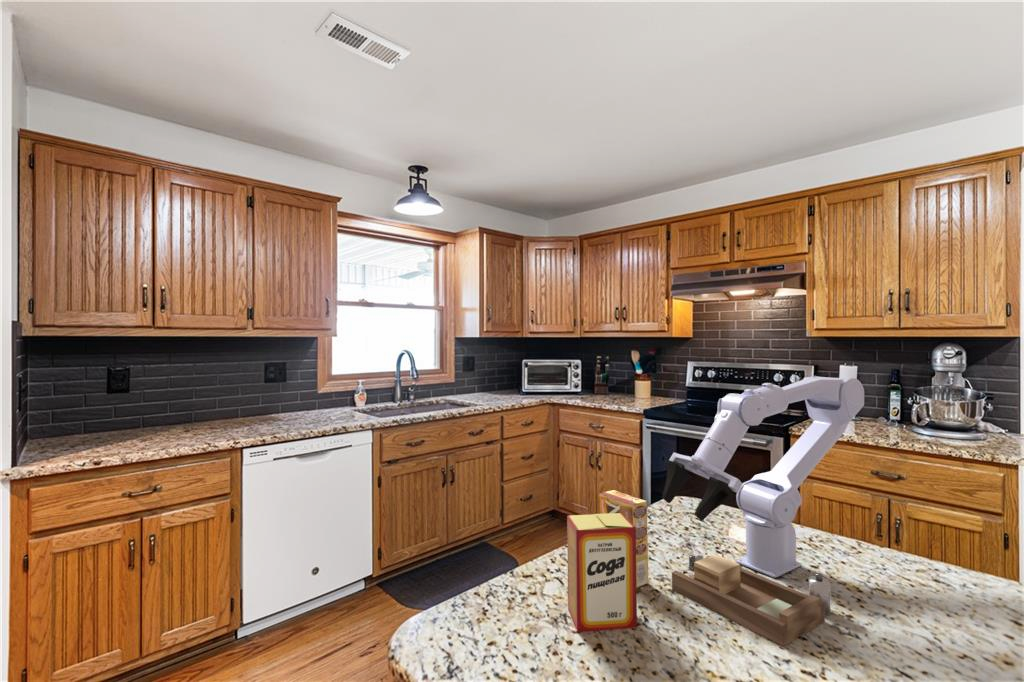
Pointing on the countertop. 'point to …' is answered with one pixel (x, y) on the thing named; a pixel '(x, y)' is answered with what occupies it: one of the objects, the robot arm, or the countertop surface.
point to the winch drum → (820, 590)
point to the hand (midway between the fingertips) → (681, 508)
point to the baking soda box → (601, 572)
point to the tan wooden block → (718, 573)
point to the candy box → (637, 516)
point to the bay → (758, 605)
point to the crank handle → (692, 560)
